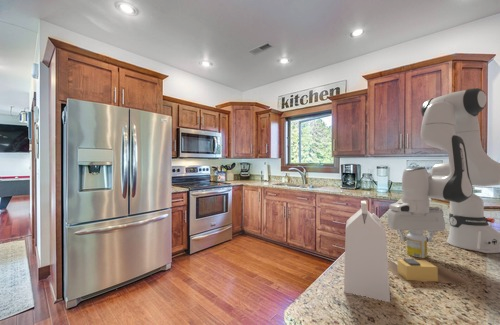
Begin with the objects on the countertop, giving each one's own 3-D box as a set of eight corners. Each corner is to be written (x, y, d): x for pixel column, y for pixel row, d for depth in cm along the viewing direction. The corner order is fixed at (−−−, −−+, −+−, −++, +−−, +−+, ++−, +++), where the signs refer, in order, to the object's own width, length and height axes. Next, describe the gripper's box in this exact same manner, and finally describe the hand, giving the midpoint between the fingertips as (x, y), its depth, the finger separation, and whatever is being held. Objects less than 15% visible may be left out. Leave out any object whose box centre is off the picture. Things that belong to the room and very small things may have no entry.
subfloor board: (437, 266, 79) (437, 263, 79) (472, 287, 65) (472, 283, 65) (380, 264, 81) (380, 261, 81) (402, 284, 67) (402, 280, 67)
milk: (345, 273, 74) (344, 198, 75) (384, 281, 69) (382, 200, 70) (344, 292, 64) (342, 203, 64) (390, 302, 59) (387, 206, 59)
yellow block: (426, 273, 72) (425, 258, 72) (437, 281, 67) (437, 265, 67) (397, 272, 73) (397, 257, 73) (406, 280, 68) (406, 264, 68)
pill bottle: (423, 255, 89) (422, 227, 90) (430, 262, 83) (429, 231, 84) (404, 253, 92) (404, 226, 92) (410, 259, 85) (409, 230, 86)
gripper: (436, 206, 90) (437, 239, 89) (385, 204, 92) (385, 237, 91) (449, 208, 84) (450, 244, 83) (393, 207, 86) (394, 242, 85)
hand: (415, 241), depth 87 cm, fingers open, 8 cm apart
